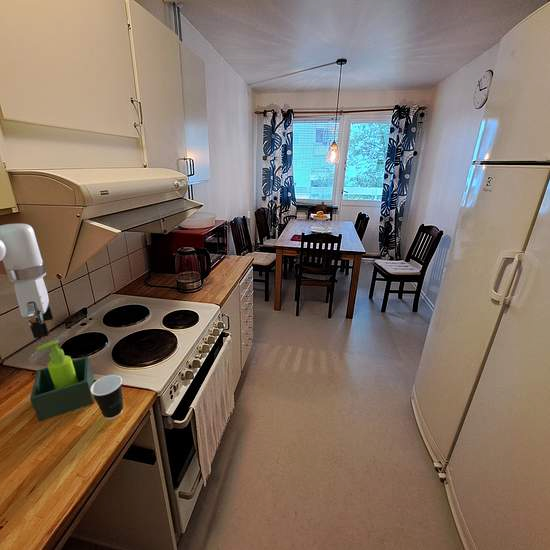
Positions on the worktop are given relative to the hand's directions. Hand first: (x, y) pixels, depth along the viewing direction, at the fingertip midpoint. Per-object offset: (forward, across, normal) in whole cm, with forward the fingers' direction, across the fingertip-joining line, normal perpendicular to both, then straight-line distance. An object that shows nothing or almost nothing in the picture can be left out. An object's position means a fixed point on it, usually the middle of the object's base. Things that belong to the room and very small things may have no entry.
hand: (44, 327), depth 81 cm
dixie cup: (+26, +14, +13) cm, 32 cm away
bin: (+26, 0, +1) cm, 26 cm away
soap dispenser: (+26, 0, +1) cm, 26 cm away
